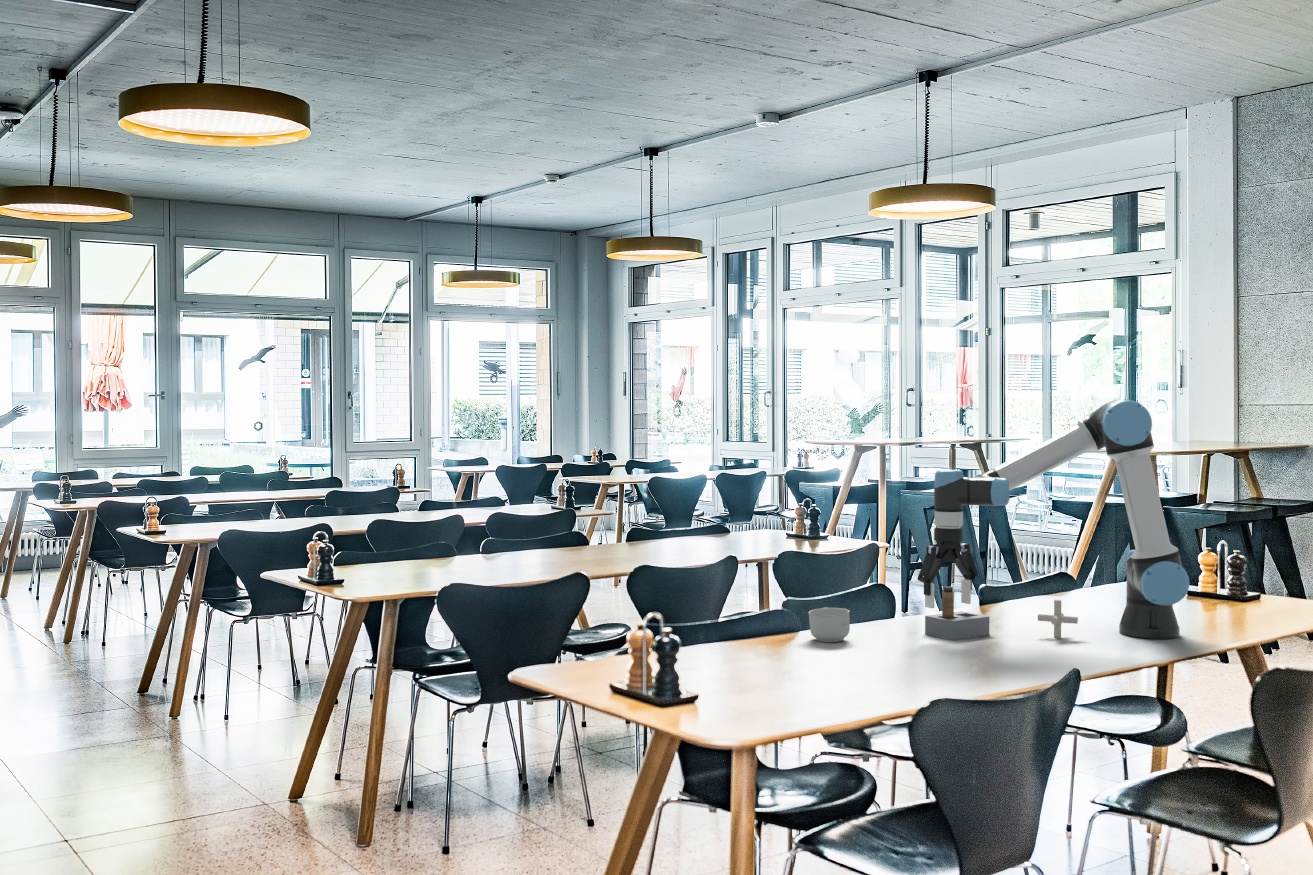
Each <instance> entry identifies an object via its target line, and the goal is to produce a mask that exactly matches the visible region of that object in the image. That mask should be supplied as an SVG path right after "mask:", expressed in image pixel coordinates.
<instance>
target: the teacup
mask: <svg viewBox="0 0 1313 875" xmlns="http://www.w3.org/2000/svg"><path fill="white" fill-rule="evenodd" d="M807 613H808V621H809V631H810V634H811V635H812V637H813V638H815V639H816V641H818V642H821V643H822V642H823V643H838V642H841V641H843V640H844V639H845V638H846V637H847V636H848V635H849V633H850V629H851V627H850V624H851V622H850V609H847V608H843V607H841V608H840V607H827V606H826V607H825V606H824V607H821V608H814V609H811V610H809V611H808V612H807Z"/></svg>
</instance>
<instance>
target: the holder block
mask: <svg viewBox="0 0 1313 875" xmlns="http://www.w3.org/2000/svg"><path fill="white" fill-rule="evenodd" d="M924 629H925V630H924V635H929V636H933V637H937V638H942V639H946V640H951V641H955V640H963V639H969V638H976V637H983V636H989V635H990V616H988V615H983V614H978V613H972V612H968V611H954V619H944V618H942V613H939V614H929V615H925V617H924Z"/></svg>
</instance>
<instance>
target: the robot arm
mask: <svg viewBox="0 0 1313 875" xmlns="http://www.w3.org/2000/svg"><path fill="white" fill-rule="evenodd" d="M1152 427H1153V420H1152V415H1151V414H1150V412H1149V410H1148V409H1147V408H1146V407H1145V406H1144V405H1143V404H1141V403H1140V402H1138V401H1136V400H1132V399H1127V398H1125V399H1117V400H1111V401H1108V402H1106V403H1105V404H1103V405H1102V406H1100V407H1099V408H1096V409H1095V410H1094V411H1093V412H1091V413H1089V414H1088V415H1086V416H1085V417H1082V418H1080V419H1079V420H1078V421H1077V424H1076V425H1074V426H1073V427H1071V428H1069V429H1067V430H1065V431H1064V432H1061V433H1059V434H1057V435H1055V436H1054V437H1051V438H1050V439H1048V440H1046V441H1044V442H1042V443H1040V444H1038V445H1036V446H1034V447H1033V448H1030V449H1028V450H1026V451H1024V452H1023V453H1021V454H1020V453H1019V455H1016V456H1014V457H1013V458H1011V459H1009V460H1006V461H1005V462H1003V463H1001V464H998V465H997V466H995V467H993V468H992V469H990V470H987V471H985V472H983V473H980V474H977V475H976V476H974V477H967V476H965V475H964V472H963V470H961V469H940V470H936V472H935V473H934V482H933V483H934V485H933V486H934V487H933V504H934V505H933V506H934V512H933V513H934V517H933V519H934V520H933V522H934V526H935V527H934V528H933V540H934V541H935V546H934V545H927V546H926V552H925V553H926V554H925V556H924V559H923V562H922V564H921V566H920V567H921V568H920V570H919V573H918V576H917V581H919V582H920V583H923V595H924V607H925V608H928V609H935V583H933V581H935V580H934V579H935V578H936V577H937V574H938V573H939V571H940V570H941V567H942V566H943V565H944V564H945V563H948V562H953V563H954V565H955V566H956V568H957V569H958V570H959V572H960V574H961V576H962V577H963V578H961V580H960V581H961V583H960V584H961V586H960V587H961V588H960V589H961V590H960V591H961V592H960V594H961V596H960V597H961V600H960V602H961V604H967V605H970V604H971V601H972V600H971V598H972V596H971V594H972V590H973V581H974V580H976V577H978V576H979V572H978V570H977V567H976V565H975V562H974V559H973V556H972V554H971V553H972V552H971V548H970V544H969V543H964V542H963V539H964V537H963V535H964V531H963V530H964V529H963V528H962V527H963V525H964V511H963V510H964V506H981V507H982V506H988V507H989V506H991V507H998V506H999V507H1000V506H1001V507H1002V506H1007V505H1008V504H1009V502H1010V491H1011V490H1013V489H1015V488H1017V487H1020V486H1021V485H1024V484H1025V483H1027V482H1029V481H1032V480H1033V479H1036V478H1037V477H1040V476H1041V475H1043V474H1046V473H1047V472H1049V471H1051V470H1053V469H1055V468H1057V467H1059V466H1061V465H1063V464H1065V463H1067V462H1069V461H1071V460H1073V459H1075V458H1077V457H1079V456H1081V455H1084V454H1085V453H1087V452H1090V451H1095V452H1098V451H1099V450H1101V449H1104V448H1105V451H1106V455H1107V457H1109V458H1111V459H1112V460H1113V461H1114V462H1115V467H1116V471H1117V476H1118V479H1119V483H1120V488H1121V492H1122V493H1121V494H1122V497H1123V501H1124V506H1125V509H1126V515H1127V518H1128V519H1127V520H1128V522H1129V527H1130V531H1131V534H1132V535H1131V536H1132V540H1133V544H1134V545H1133V546H1134V547H1135V549H1130V550H1128V552H1127V553H1126V560H1125V563H1126V605H1125V608H1124V610H1123V613H1122V616H1121V619H1120V623H1119V628H1118V629H1119V631H1118V632H1119V633H1120V634H1122V635H1124V636H1127V637H1128V636H1129V637H1134V638H1139V639H1141V638H1142V639H1153V640H1155V639H1157V640H1158V639H1159V640H1162V639H1163V640H1165V639H1166V640H1167V639H1175V638H1176V639H1177V638H1179V637H1180V626H1179V623H1178V619H1177V616H1176V613H1175V610H1174V607H1173V605H1175V604H1177V603H1179V602H1181V601H1182V600H1183V599H1184V598H1185V597H1186V596H1187V594H1188V592H1189V588H1190V578H1189V575H1188V572H1187V571H1186V570H1185V567H1183V564H1182V561H1181V554H1180V551H1179V548H1178V547H1177V546H1175V545H1173V544H1172V543H1171V540H1170V537H1169V533H1168V528H1167V523H1166V518H1165V516H1164V515H1165V514H1164V511H1163V507H1162V503H1161V497H1160V492H1159V489H1158V484H1157V480H1156V477H1155V476H1156V475H1155V473H1154V467H1153V463H1152V460H1151V456H1150V455H1151V452H1152V450H1153V449H1154V447H1155V445H1154V440H1153V436H1152V429H1153V428H1152Z"/></svg>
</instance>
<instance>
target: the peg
mask: <svg viewBox="0 0 1313 875" xmlns="http://www.w3.org/2000/svg"><path fill="white" fill-rule="evenodd" d="M953 589H954V588H953V586H943V590H942V596H941V597H942V598H941V599H942V600H941V602H942V604H941V605H942V606H941V609H942V610H941V614H942V618H944V619H954V612H955V611H954V610H955V609H954V608H955V605H954V604H955V598H954V597H955V592H954V590H953Z"/></svg>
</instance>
